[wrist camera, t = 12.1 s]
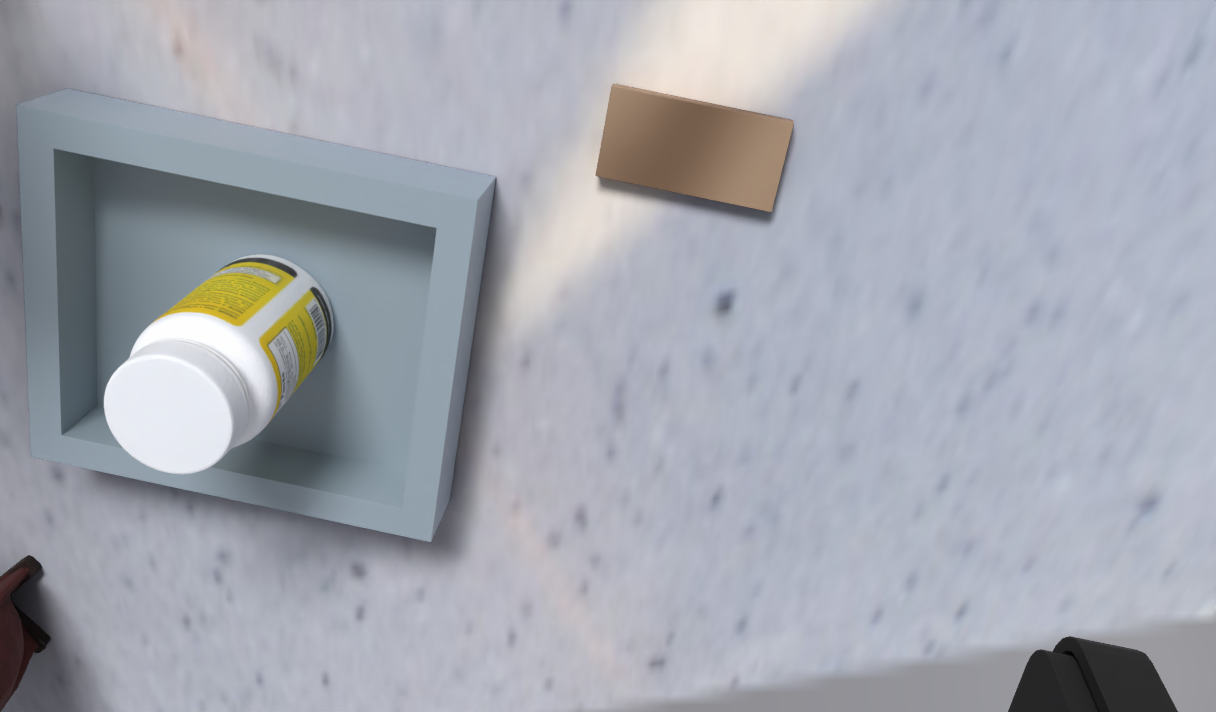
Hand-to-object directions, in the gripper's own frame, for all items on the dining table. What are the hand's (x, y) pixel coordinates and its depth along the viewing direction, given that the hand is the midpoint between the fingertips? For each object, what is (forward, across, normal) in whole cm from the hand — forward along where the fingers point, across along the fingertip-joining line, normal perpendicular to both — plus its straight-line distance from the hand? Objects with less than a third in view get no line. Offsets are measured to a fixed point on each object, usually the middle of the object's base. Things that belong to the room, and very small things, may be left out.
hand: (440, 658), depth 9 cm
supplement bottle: (+29, +13, +11) cm, 33 cm away
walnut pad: (+30, -1, +2) cm, 30 cm away
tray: (+29, +13, +11) cm, 34 cm away
